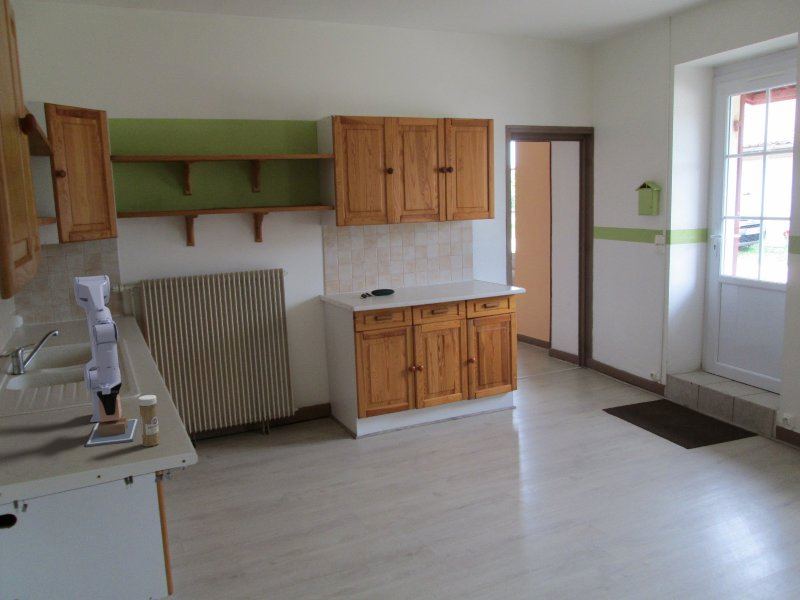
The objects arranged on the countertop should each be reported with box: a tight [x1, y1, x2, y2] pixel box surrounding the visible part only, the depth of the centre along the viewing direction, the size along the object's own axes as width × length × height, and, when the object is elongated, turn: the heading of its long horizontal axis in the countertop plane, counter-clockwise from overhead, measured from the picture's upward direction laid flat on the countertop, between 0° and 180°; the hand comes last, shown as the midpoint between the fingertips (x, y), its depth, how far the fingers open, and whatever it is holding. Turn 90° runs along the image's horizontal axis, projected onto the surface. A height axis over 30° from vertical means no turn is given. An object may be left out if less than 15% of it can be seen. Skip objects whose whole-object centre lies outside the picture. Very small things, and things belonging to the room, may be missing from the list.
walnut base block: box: [98, 415, 129, 437], centre depth 189 cm, size 7×7×3 cm
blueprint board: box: [85, 418, 140, 448], centre depth 189 cm, size 18×12×1 cm, turn 17°
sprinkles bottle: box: [138, 394, 161, 447], centre depth 179 cm, size 5×5×13 cm
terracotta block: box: [98, 393, 123, 422], centre depth 188 cm, size 5×5×6 cm
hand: (111, 411), depth 188 cm, fingers closed on terracotta block, 5 cm apart
